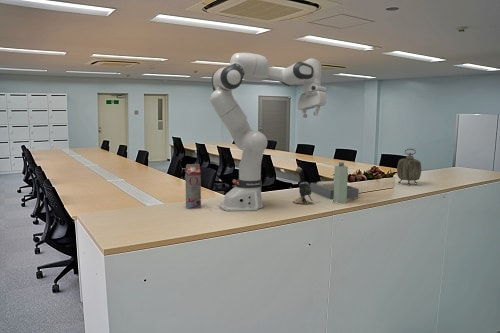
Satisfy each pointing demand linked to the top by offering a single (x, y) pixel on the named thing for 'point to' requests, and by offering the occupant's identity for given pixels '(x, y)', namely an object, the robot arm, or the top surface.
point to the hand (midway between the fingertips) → (310, 116)
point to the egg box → (326, 184)
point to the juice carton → (193, 186)
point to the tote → (329, 194)
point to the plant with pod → (303, 190)
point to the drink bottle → (340, 183)
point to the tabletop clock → (409, 168)
